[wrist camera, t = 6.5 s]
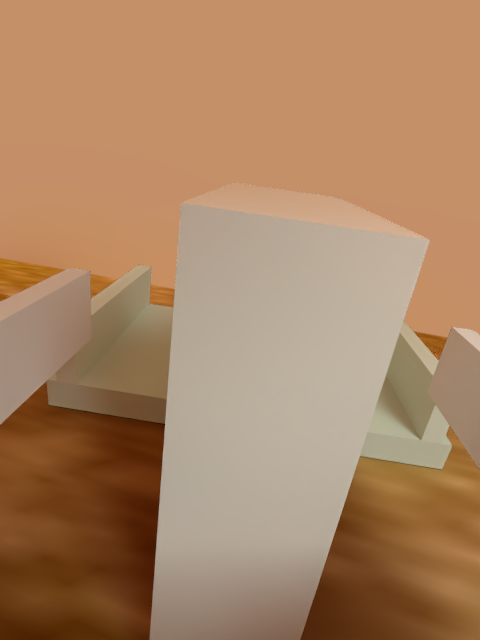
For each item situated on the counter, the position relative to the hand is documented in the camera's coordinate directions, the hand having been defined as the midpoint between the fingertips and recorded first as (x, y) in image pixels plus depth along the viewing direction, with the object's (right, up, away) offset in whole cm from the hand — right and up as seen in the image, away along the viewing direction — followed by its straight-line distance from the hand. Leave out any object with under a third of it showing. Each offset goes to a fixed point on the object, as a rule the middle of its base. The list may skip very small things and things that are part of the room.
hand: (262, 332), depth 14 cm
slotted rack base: (0, -3, +11) cm, 11 cm away
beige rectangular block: (-1, -8, 0) cm, 8 cm away
